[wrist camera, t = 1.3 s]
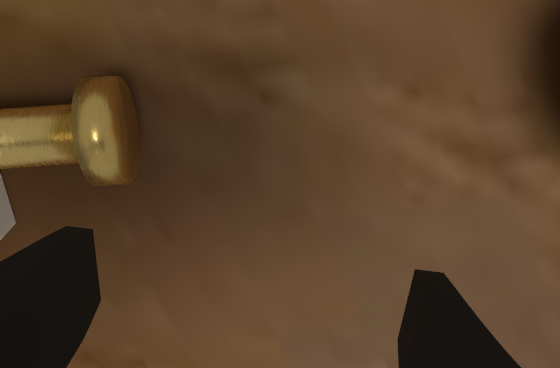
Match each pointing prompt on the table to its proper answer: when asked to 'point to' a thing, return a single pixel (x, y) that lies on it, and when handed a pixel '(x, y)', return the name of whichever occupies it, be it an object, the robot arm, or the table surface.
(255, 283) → the table surface
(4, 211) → the block
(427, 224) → the table surface
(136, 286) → the table surface
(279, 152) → the table surface
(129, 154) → the pin
